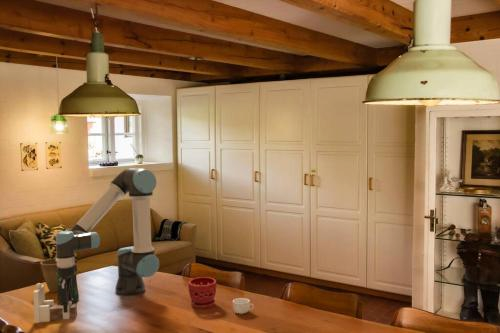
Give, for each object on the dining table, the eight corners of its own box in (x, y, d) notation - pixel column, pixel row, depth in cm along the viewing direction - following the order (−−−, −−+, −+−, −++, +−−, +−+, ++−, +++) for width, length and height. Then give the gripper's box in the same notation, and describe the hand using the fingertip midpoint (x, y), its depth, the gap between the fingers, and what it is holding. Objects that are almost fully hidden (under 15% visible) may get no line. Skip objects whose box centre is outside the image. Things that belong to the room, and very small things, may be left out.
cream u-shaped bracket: (54, 314, 233) (53, 279, 232) (49, 322, 223) (47, 285, 222) (40, 315, 232) (38, 280, 231) (34, 323, 222) (32, 286, 221)
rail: (77, 315, 231) (76, 303, 231) (75, 318, 227) (74, 307, 227) (44, 317, 230) (44, 305, 229) (42, 320, 226) (41, 309, 225)
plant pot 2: (183, 306, 240) (182, 281, 239) (204, 299, 250) (203, 275, 249) (201, 312, 231) (201, 286, 230) (222, 304, 241) (221, 280, 240)
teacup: (230, 314, 228) (230, 302, 228) (236, 308, 235) (236, 297, 235) (251, 316, 224) (250, 304, 224) (256, 310, 232) (256, 299, 231)
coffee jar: (81, 298, 254) (79, 262, 253) (72, 304, 246) (71, 266, 245) (64, 298, 256) (62, 261, 255) (55, 303, 248) (53, 266, 247)
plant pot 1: (77, 288, 271) (76, 259, 270) (54, 296, 259) (52, 265, 257) (60, 284, 279) (58, 256, 278) (36, 292, 267) (34, 262, 265)
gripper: (61, 261, 235) (63, 310, 237) (52, 271, 218) (54, 324, 220) (78, 261, 236) (80, 310, 238) (70, 270, 219) (71, 323, 221)
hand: (67, 316), depth 229 cm, fingers open, 4 cm apart
